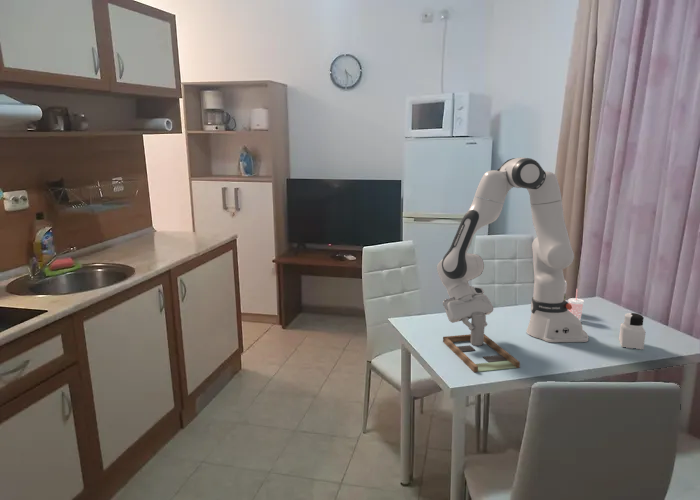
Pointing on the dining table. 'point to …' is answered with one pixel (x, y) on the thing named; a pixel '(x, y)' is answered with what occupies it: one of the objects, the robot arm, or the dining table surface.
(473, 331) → the beverage can
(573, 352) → the dining table surface
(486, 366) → the box
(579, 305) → the beverage cup
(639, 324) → the medicine bottle
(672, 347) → the dining table surface
